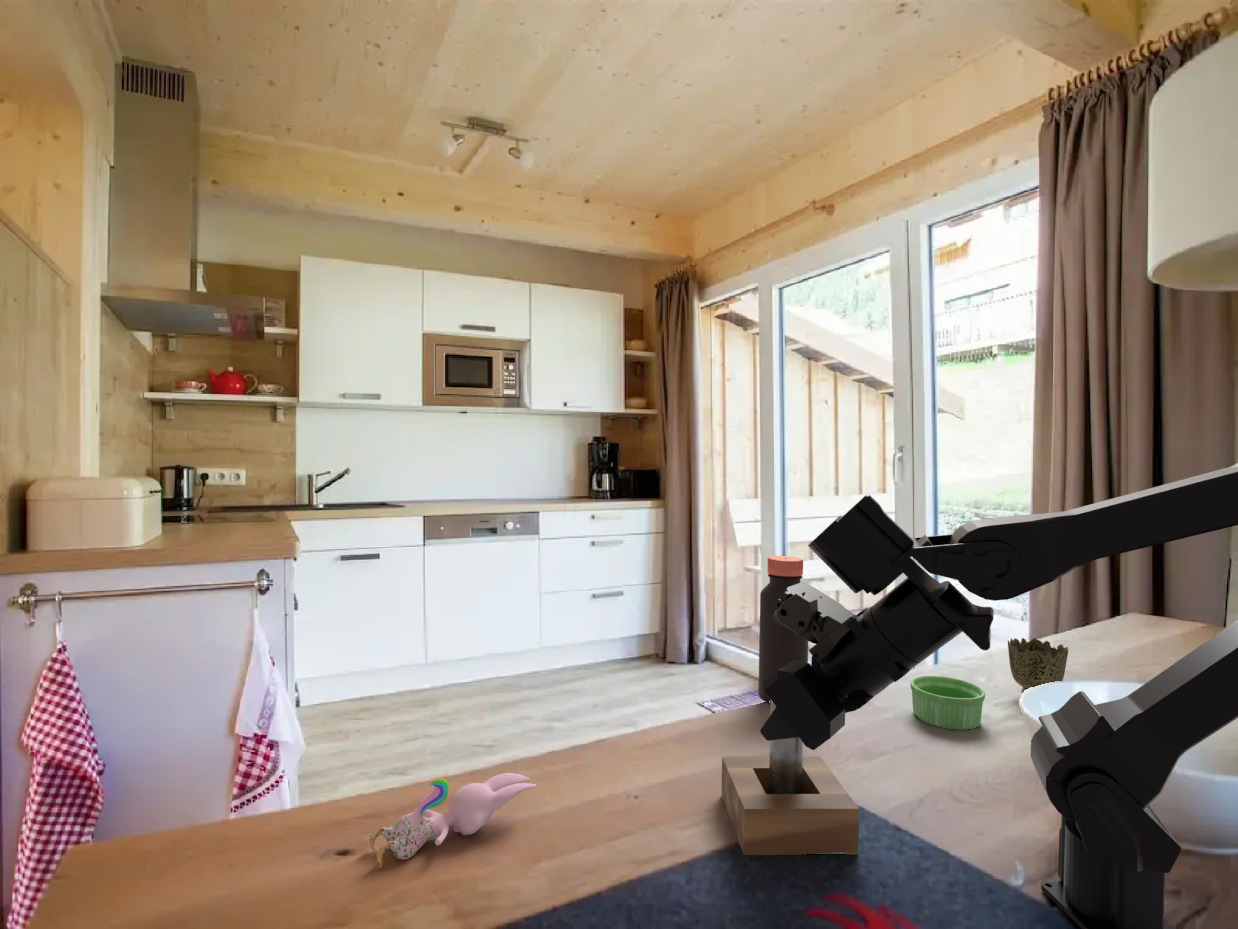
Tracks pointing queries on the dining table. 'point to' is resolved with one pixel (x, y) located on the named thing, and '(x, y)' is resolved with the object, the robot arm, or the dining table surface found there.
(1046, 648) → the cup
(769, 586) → the bottle
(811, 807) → the walnut square frame
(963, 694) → the ramekin
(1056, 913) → the dining table surface
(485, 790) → the rabbit figure
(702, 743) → the dining table surface
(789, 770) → the steel rod
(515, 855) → the dining table surface
